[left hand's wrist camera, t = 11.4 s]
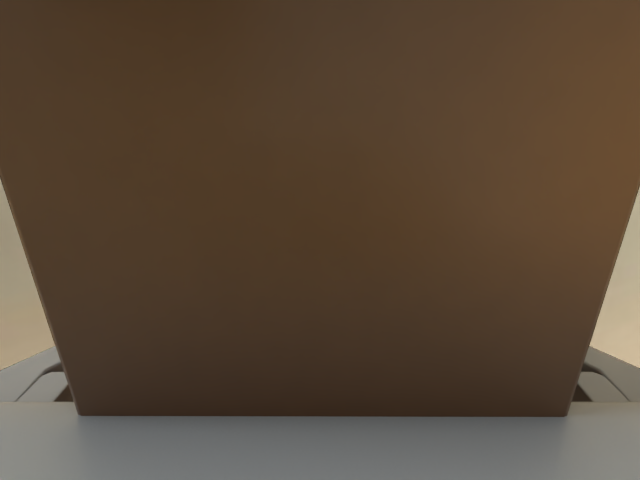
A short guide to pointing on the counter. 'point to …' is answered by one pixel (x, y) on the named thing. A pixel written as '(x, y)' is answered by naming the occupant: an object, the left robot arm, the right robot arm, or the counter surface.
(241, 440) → the left robot arm
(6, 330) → the counter surface
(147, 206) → the box
